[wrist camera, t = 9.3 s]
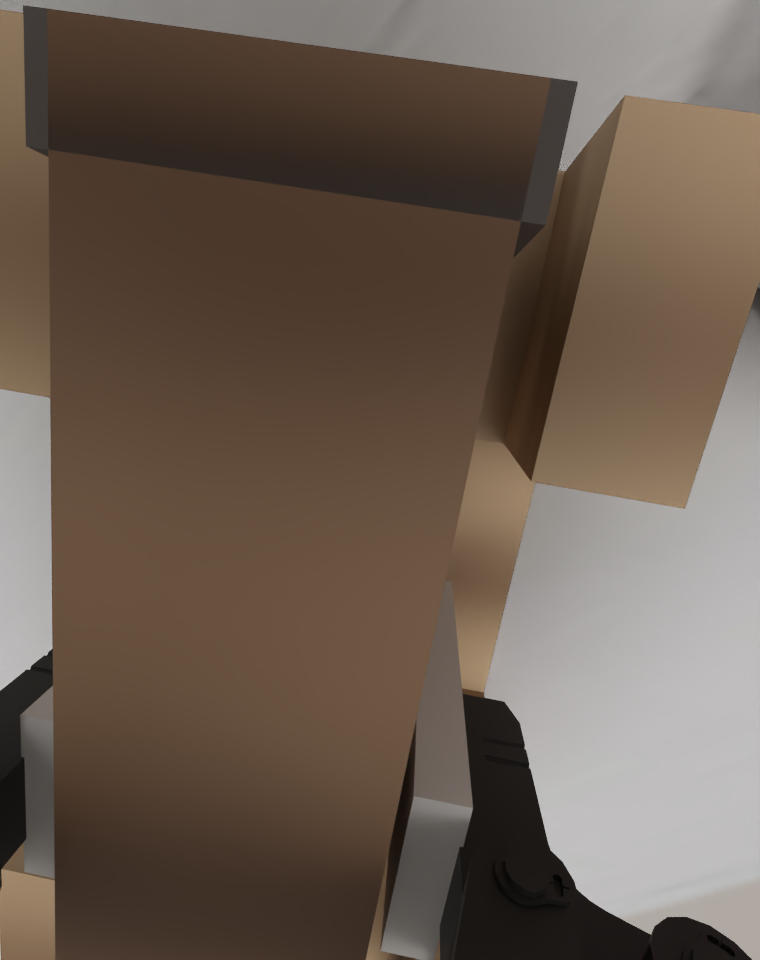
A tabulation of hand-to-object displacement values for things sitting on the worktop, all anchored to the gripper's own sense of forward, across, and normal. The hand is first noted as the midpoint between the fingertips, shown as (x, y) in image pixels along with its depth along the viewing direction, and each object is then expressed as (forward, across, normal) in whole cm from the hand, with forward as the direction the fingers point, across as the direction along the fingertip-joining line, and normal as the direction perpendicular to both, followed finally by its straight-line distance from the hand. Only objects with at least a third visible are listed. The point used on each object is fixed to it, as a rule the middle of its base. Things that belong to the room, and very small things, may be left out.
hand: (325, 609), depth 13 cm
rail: (-1, 0, 0) cm, 1 cm away
